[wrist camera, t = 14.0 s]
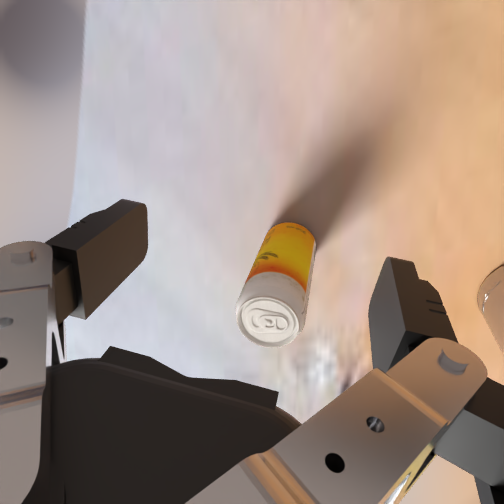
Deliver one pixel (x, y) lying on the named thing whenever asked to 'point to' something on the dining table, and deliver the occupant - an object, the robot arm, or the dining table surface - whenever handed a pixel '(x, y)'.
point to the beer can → (278, 287)
